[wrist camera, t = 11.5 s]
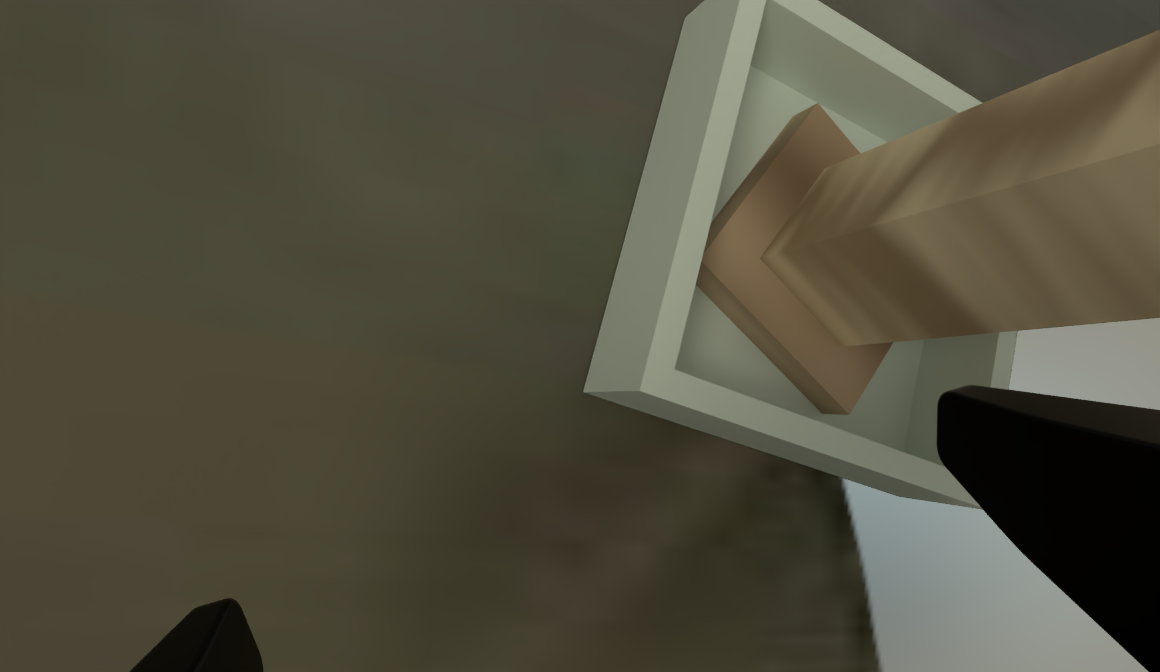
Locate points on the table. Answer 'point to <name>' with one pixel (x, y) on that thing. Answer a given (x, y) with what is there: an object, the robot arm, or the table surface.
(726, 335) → the box
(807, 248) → the wooden block tower
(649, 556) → the table surface
